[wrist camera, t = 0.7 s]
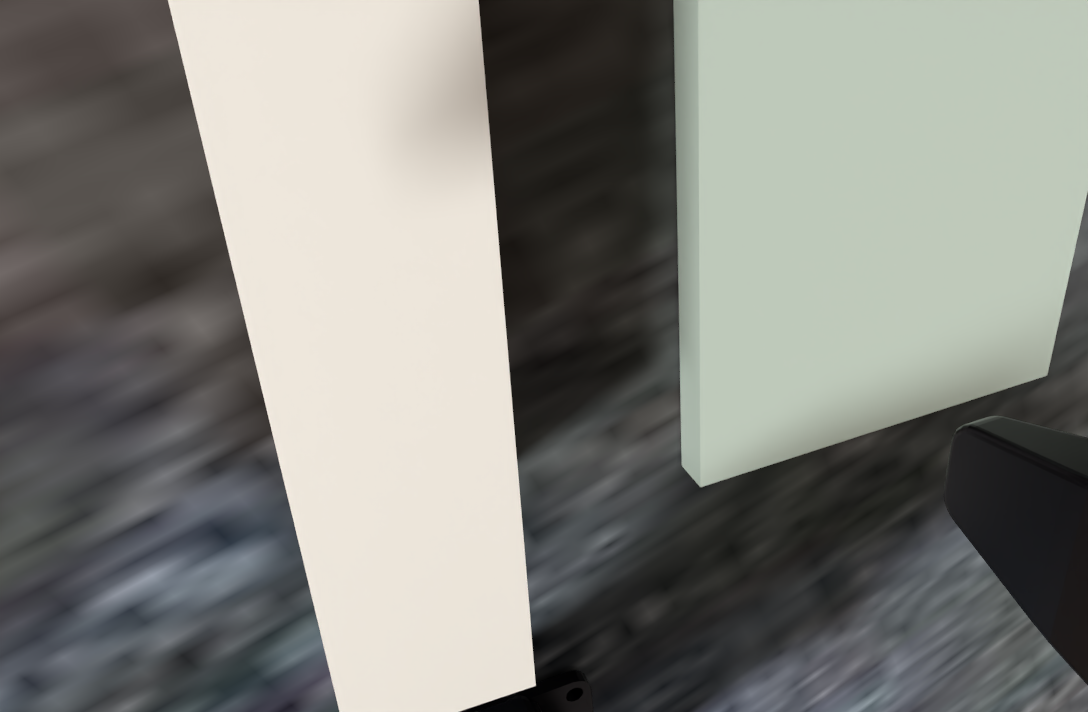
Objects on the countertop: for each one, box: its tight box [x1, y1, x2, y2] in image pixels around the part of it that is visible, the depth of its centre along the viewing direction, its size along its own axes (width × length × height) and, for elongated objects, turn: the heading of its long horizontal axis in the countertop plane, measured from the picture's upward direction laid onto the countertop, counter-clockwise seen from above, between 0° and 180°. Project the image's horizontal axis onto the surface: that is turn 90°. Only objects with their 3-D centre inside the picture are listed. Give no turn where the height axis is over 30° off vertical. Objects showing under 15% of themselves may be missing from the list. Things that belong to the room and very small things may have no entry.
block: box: [168, 0, 536, 712], centre depth 15 cm, size 16×4×6 cm, turn 3°
